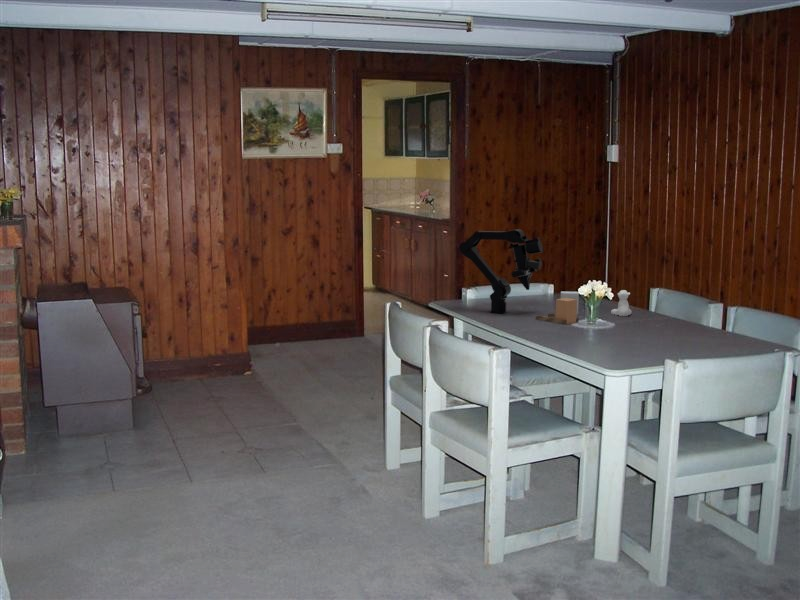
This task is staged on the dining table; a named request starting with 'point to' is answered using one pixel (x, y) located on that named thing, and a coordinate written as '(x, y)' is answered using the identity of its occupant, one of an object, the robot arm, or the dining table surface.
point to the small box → (570, 296)
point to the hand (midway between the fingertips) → (528, 289)
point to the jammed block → (566, 309)
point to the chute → (553, 319)
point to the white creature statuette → (622, 304)
